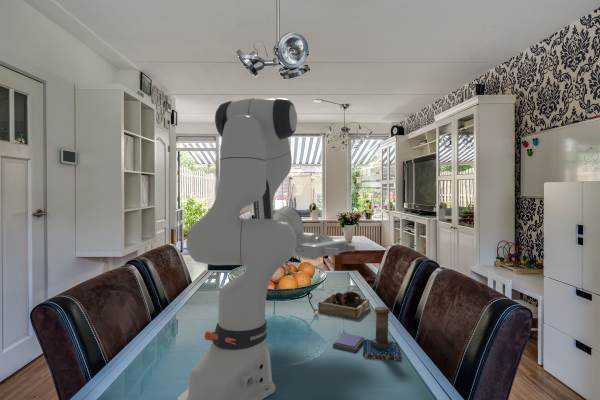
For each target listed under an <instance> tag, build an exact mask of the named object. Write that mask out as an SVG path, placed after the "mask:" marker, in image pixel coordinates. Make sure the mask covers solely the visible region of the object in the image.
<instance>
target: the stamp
mask: <svg viewBox="0 0 600 400" xmlns="http://www.w3.org/2000/svg"><path fill="white" fill-rule="evenodd" d="M374 312H375V338H374V339H370V340H371V346H372V347H375V348H377V349H380V350H383V351H385V350H387V349H388V350H389V348H391V347H393V342H394V341H392V340H390V339H389V334H388V333H389V315H390V312H391V309H390V308H389V307H386V306H376V307H374Z"/></svg>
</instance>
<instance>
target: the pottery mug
mask: <svg viewBox="0 0 600 400" xmlns="http://www.w3.org/2000/svg"><path fill="white" fill-rule="evenodd" d="M334 294H335V299H336V300H337V302H338V303H339V304H338V305H340V306H346V307H352V308H357V307H358V306H360V305H361V304H362V302H361V300H362V299H361V295H360V294H359V293H358V292H355V291H352V290H350V291H345V292H344V293H341V292H336V293H334ZM345 296H346V297H345ZM355 298H359V300H358V302H356V301H355Z"/></svg>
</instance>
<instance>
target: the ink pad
mask: <svg viewBox="0 0 600 400" xmlns="http://www.w3.org/2000/svg"><path fill="white" fill-rule="evenodd" d="M364 340H366V336H365V337H364V336H361V335H357V334H356V335H355V334H351V333H346V332H344V333H343V334H341V336H339V337H338V338H337V339H336V340H335V341H334V342H333V343H332V347H333V348H336V349H341V350H344V351H349V352H353V353H356V352H358V350H359V348H361V346H362V345H364Z"/></svg>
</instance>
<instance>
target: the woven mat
mask: <svg viewBox="0 0 600 400" xmlns="http://www.w3.org/2000/svg"><path fill="white" fill-rule="evenodd" d="M371 340H372V339H370V338H368V339H367V338H365V340H364V343H363V352H362V357H364V358H366V359H368V358H373V359H375V360H376V357H377V359H379V360H380V358H381V360H384V359H385V360H387V361H388V360H392V359H393V360H396V361H397V360H398V359H400V360H402V357H401V356H402V353H401V349H400V345H399V346H398V343H399V342H398V341H393V347H391V348H389V349H387V350H385V351H383V350H380V349H377V348H375V347H372V346H371Z"/></svg>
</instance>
